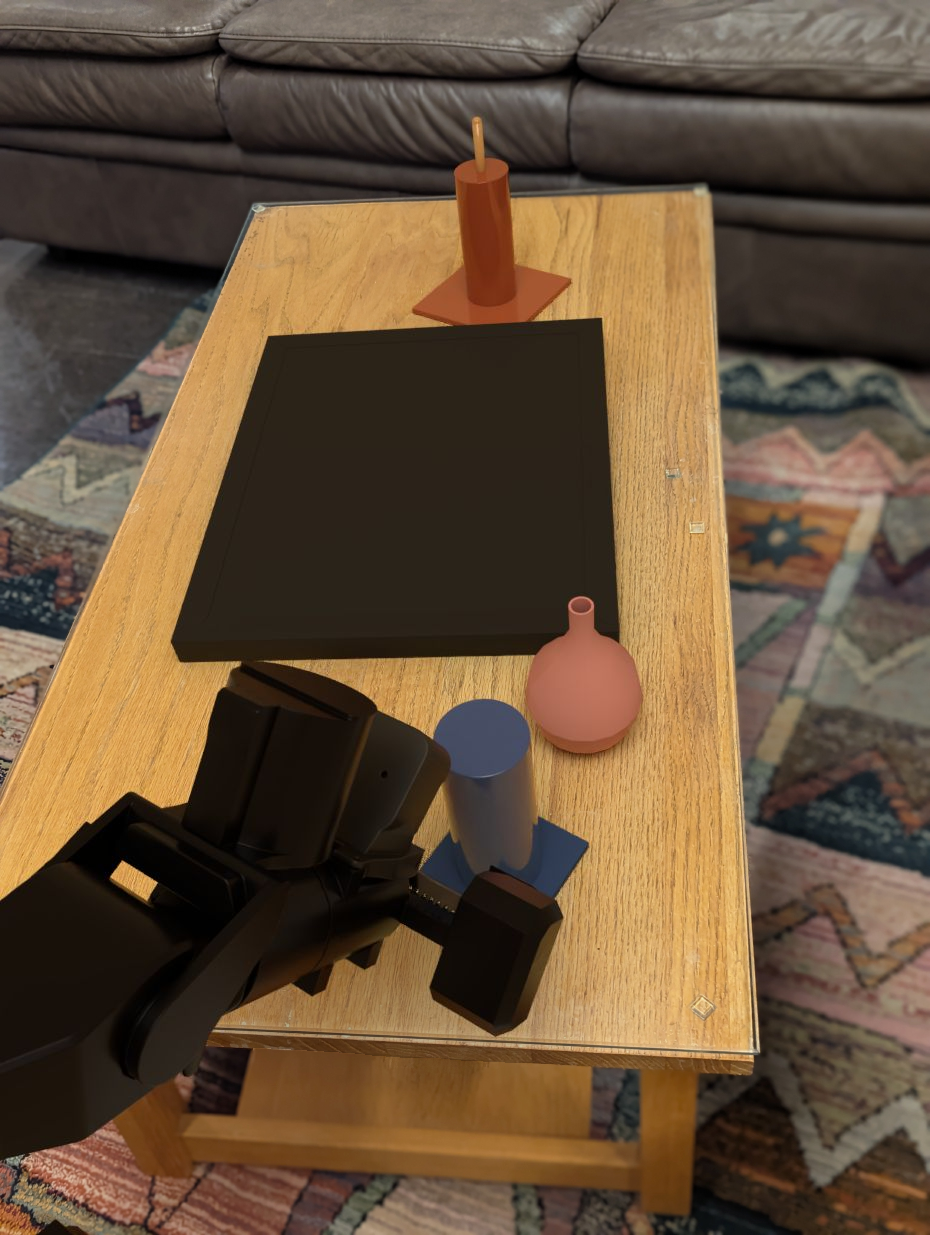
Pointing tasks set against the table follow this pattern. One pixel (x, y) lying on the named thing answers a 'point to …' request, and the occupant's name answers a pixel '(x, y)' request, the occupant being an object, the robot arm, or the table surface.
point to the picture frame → (411, 498)
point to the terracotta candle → (486, 226)
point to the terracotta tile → (524, 307)
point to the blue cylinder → (490, 789)
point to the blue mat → (556, 859)
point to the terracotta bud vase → (583, 686)
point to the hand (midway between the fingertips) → (447, 850)
